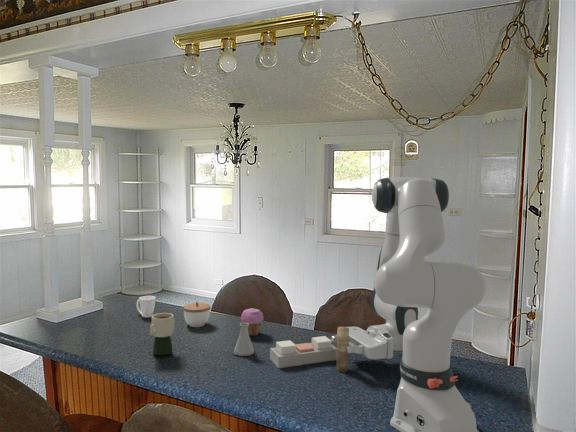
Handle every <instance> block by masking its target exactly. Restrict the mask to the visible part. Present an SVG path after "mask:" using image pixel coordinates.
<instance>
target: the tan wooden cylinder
mask: <svg viewBox="0 0 576 432" xmlns="http://www.w3.org/2000/svg"><path fill="white" fill-rule="evenodd" d="M347 327H348V326H338V327H337V331H336V332H337V333H336V335H337V342H336V348H337V360H335V361H336V366H335V367H336V369H335V370H336V371H338V372H342V373H345V372H348V370H349V353H348V352H346V346H349V328H347Z"/></svg>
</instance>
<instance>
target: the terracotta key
mask: <svg viewBox="0 0 576 432" xmlns="http://www.w3.org/2000/svg"><path fill="white" fill-rule="evenodd" d="M309 343H310V342H304V343H296V344H295V343H294V344H295V345H296V350H297V351H298V352H299V353H301V352H308V351H314V347H312V346H311V345H310V344H309Z"/></svg>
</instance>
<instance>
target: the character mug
mask: <svg viewBox="0 0 576 432" xmlns="http://www.w3.org/2000/svg"><path fill="white" fill-rule="evenodd" d="M152 315H153V316H152V317H151V323H150V326H149V334H150V335H151V336H154V337H155V338H154V340H153V341H154V342H153V347H152V348H153V349H152V351H153V352H152V353H153V355H157V356H165V355H166V356H167V355H170V354H172V353H173V344H172V337H171V336H172V335H173V334H174V330H175V328H174V326H175V325H176V322H175V321H176V320H175V316H174V314H173V313H169V312H160V313H154V314H152Z"/></svg>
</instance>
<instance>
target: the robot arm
mask: <svg viewBox="0 0 576 432" xmlns="http://www.w3.org/2000/svg"><path fill="white" fill-rule="evenodd" d="M371 201H372V204H373V206H374V209H375V210H376V211H377V212H380V213H383V214H386V215H387V216H386V223H385V236H384V243H383V246H382V248H381V249H380V253H379V256H378V261H377V267H376V273H375V276H374V283H373V285H374V287H373V290H372V293H371V296H370V299H369V306H370V310H371V312H372V313H373V314H374V315H376V316H377V317H379V318H383V319H384V320H385V323H383V324H374V325H369V326H368V327H367V329H366V330H365V329H363V328H361V327H359V326H346V327H347V328H349V346H346V352H348V354H359V355H361V354H362V356H364V357H365V358H366V359H369V360H382V359H388V360H389V359H390V360H391V359H393V358H394V351H397V352H398V351H402V358H401V359H400V364H399V375H400V377H401V378H400V381H399V385H398V387H397V390H396V397H395V404H394V409H393V410H394V411H393V416H392V417H391V418H390V421H389V422H390V426H391V427H393V428H394V429H395V430H397V431H399V432H480V431H479V430H478V429H477V419H476V415H475V413H474V412H473V410H472V405H471V404H470V402H468V401H466V400H465V399H464V397H463V396H462V394H461V392H460V391H459V390H458V388H457V387H456V384H455V383H456V382H457V381H458V382H459V379H457V378H459V375H455V376H454V374H453V373H454V372H453V371H454V370H453V369H452V365H451V364H450V363H451V351H452V343H453V342H452V341H453V336H454V333H455V330H456V328H457V326H458V325H459V324H460V321H461V320H462V319H463V317H465V315H466V314H467V313H469V311H471V310H473V309H474V308H475V307H477V306H479V304H481V302H482V301H483V299H484V297H485V294H486V282H485V279H484V276H483V274H482V273H481V272H480V270H479V269H478V268H477V267H475V266H472V265H467V264H464V263H458V262H434V261H433V262H432V261H426V260H425V257H427V256H429V255H432V254H433V253H435V252H437V251H438V250H439V249H441V248H442V246H443V245H444V244H445V240H446V232H445V226H444V220H443V219H444V218H443V214H442V213H443V212H444V211H445V210H446V209H447V208H448V204H449V201H450V191H449V187H448V185H447V183H446V181H444V180H443V179H439V178H424V177H412V176H404V177H403V176H402V177H401V176H400V177H392V178H391V177H384V178H379V179H378V180H377V181H376V182H375V183H374V186H373V188H372V191H371ZM419 308H423V309H424V308H425V309H427V311H426V313H425V314H424V315H423V316H422V317H419ZM330 337H331V338H330V340H331V341H332V342H333V343H334V344H335V343H337V334H336V335H331V336H330Z"/></svg>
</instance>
